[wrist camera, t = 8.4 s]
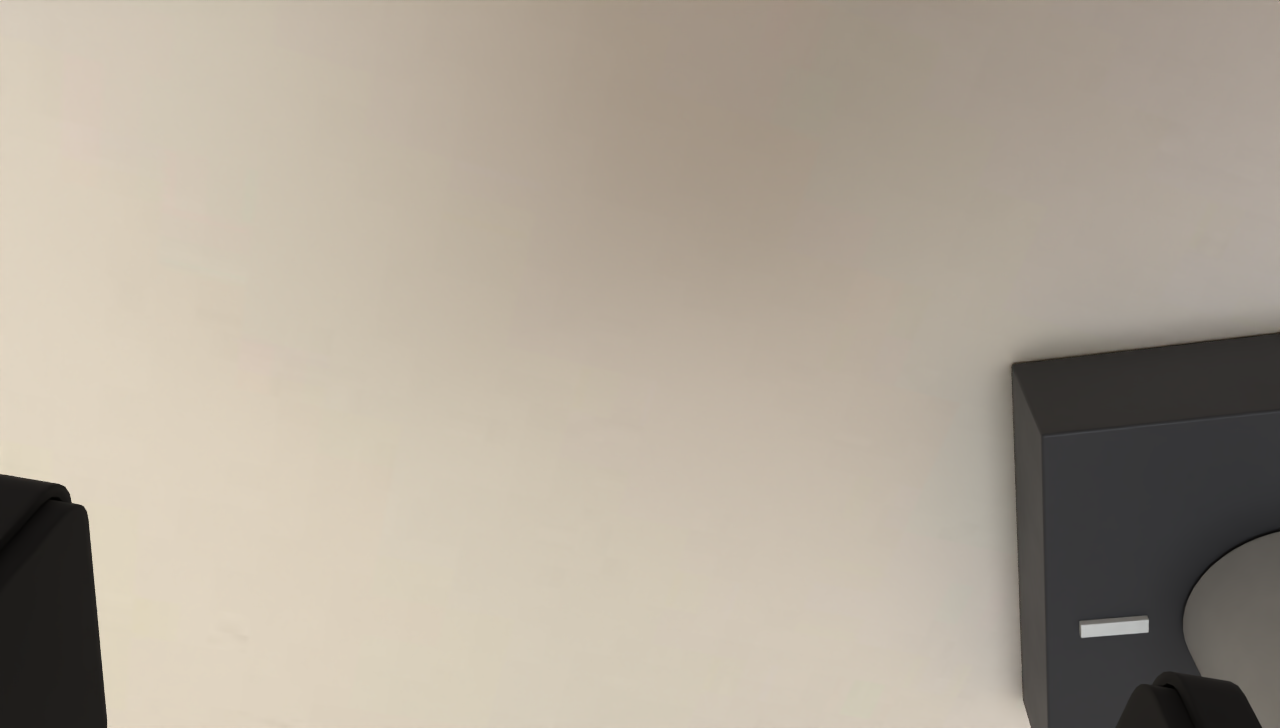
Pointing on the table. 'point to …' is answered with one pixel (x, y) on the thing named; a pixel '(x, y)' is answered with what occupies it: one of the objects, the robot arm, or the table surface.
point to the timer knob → (1240, 624)
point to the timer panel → (1133, 509)
